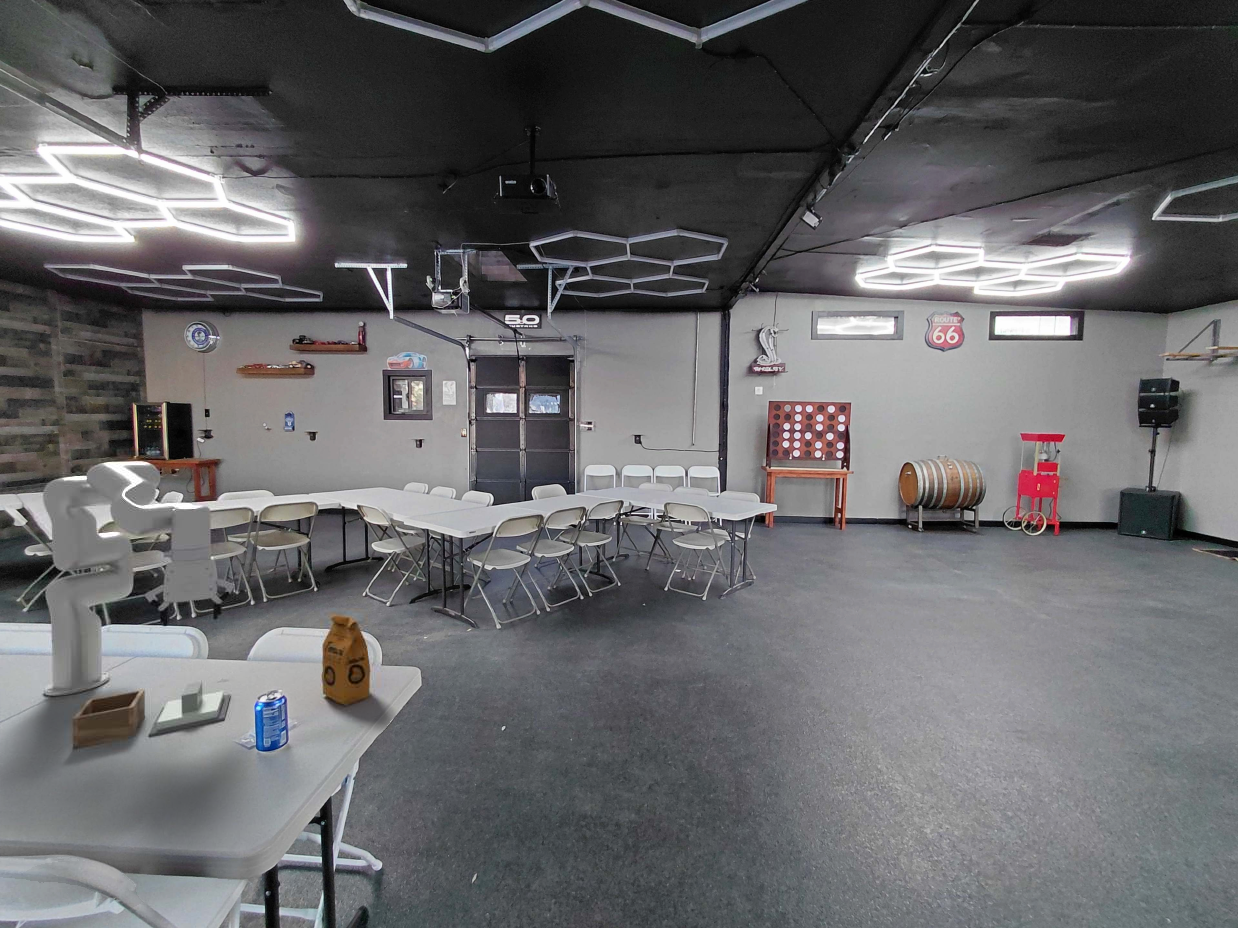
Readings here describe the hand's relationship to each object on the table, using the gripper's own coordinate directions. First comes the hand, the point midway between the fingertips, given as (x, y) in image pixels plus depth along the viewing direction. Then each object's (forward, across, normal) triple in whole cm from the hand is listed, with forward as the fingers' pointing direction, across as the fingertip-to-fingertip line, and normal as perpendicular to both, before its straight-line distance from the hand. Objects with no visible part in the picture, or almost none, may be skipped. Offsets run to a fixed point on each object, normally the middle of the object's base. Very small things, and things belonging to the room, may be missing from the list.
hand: (191, 621), depth 126 cm
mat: (+24, 0, 0) cm, 24 cm away
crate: (+24, -15, 0) cm, 28 cm away
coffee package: (+24, +34, -9) cm, 43 cm away
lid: (+24, 0, 0) cm, 24 cm away
